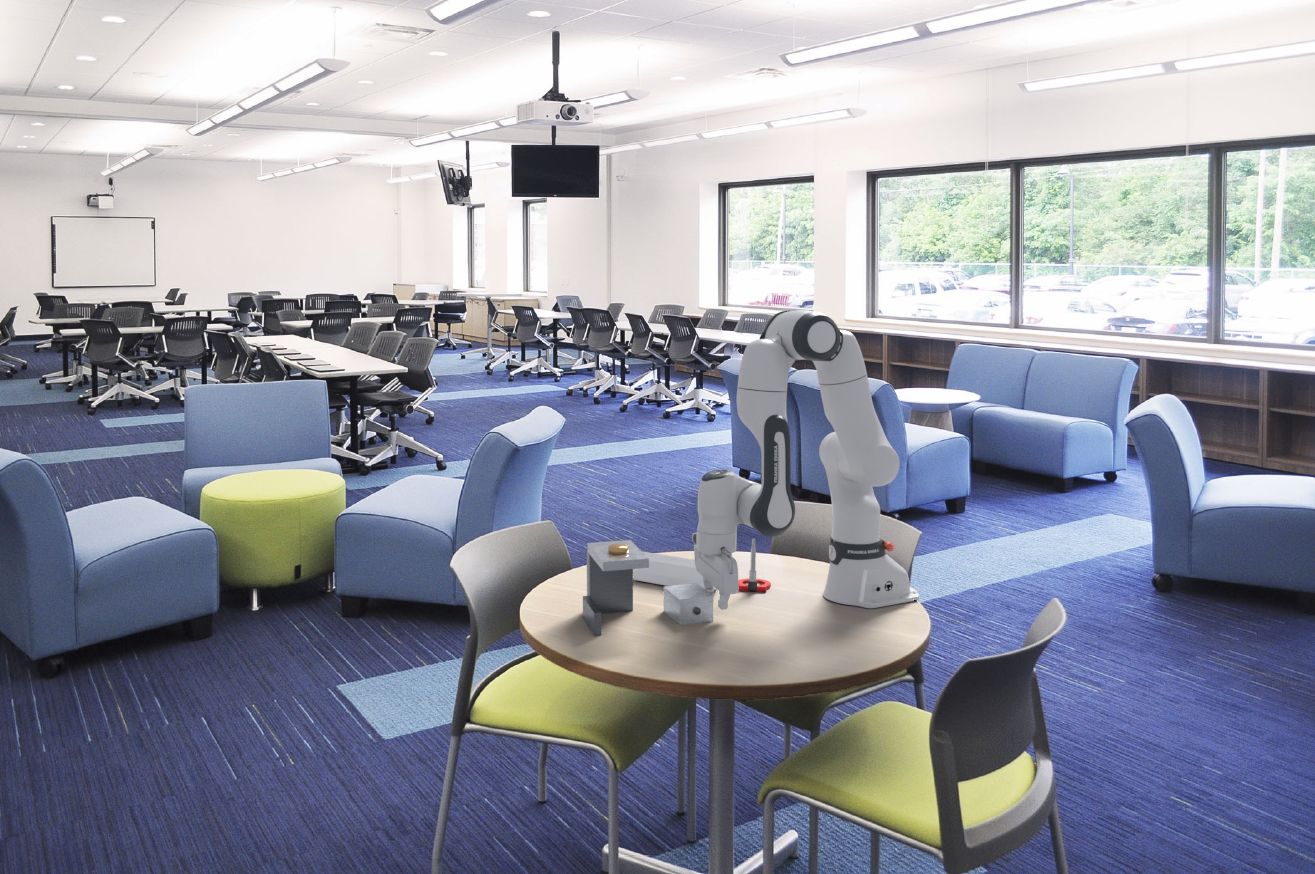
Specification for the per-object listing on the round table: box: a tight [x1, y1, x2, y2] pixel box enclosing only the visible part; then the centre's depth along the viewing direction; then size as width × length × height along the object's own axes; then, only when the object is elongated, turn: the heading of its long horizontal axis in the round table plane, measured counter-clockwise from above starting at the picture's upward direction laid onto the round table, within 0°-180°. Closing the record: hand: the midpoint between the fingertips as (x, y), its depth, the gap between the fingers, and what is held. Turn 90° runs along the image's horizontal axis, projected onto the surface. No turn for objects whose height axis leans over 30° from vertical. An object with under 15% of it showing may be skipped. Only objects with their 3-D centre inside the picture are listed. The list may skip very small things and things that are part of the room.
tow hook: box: [738, 538, 772, 593], centre depth 259 cm, size 8×13×9 cm
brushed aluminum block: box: [663, 583, 715, 626], centre depth 237 cm, size 8×10×6 cm
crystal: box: [633, 550, 717, 592], centre depth 261 cm, size 7×7×24 cm
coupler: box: [582, 539, 649, 637], centre depth 233 cm, size 12×17×17 cm
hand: (715, 602), depth 239 cm, fingers open, 8 cm apart
